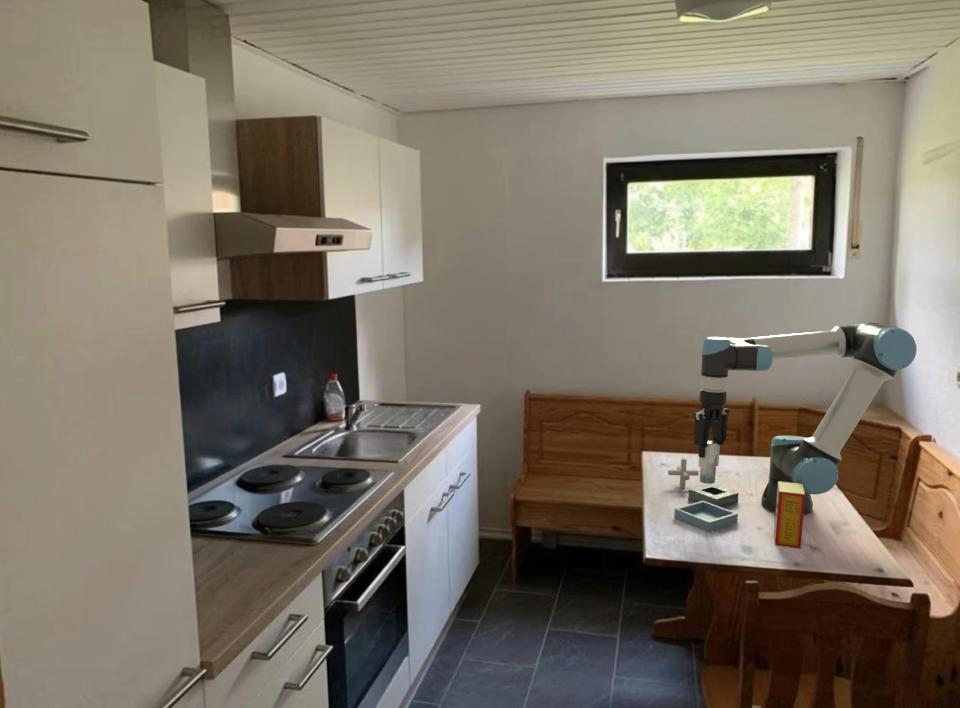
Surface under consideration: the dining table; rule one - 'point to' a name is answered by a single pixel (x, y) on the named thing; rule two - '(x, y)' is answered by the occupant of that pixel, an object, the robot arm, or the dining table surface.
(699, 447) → the robot arm
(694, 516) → the parts tray
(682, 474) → the pipe connector
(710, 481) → the shiny metal cylinder
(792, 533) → the baking soda box
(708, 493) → the block
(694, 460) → the dining table surface
